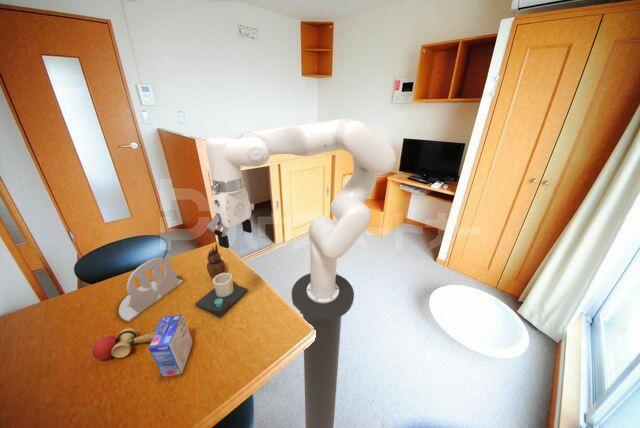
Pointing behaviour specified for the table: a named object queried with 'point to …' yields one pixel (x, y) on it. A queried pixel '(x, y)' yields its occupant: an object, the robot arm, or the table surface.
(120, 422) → the table surface
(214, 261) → the wooden figurine
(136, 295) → the ornament
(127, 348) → the kendama
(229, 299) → the scale
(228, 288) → the beige cup
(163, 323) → the ink cartridge box
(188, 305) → the table surface
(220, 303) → the button
